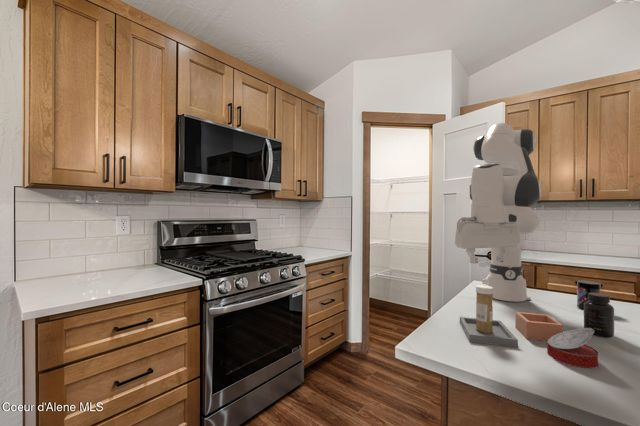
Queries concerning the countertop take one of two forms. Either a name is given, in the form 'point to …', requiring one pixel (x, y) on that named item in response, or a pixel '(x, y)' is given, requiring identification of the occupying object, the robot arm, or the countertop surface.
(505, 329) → the charcoal tray
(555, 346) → the canned food
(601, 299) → the supplement bottle
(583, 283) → the supplement container
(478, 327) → the sprinkles bottle
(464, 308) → the countertop surface
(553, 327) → the terracotta holder
